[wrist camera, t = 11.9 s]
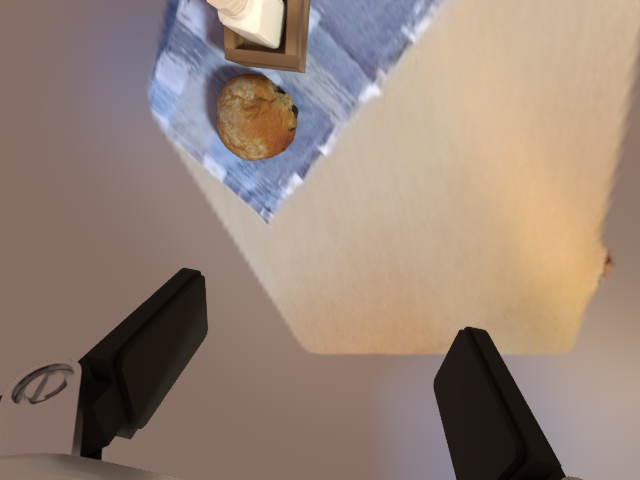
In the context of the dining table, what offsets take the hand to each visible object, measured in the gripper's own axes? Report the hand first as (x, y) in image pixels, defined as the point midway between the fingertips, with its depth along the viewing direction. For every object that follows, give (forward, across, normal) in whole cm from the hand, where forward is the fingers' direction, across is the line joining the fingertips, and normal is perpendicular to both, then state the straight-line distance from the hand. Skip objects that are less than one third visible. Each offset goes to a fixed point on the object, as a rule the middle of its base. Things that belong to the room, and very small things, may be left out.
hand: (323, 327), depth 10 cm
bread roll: (+31, +13, -4) cm, 34 cm away
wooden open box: (+31, +12, -14) cm, 35 cm away
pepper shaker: (+27, +12, -14) cm, 32 cm away
